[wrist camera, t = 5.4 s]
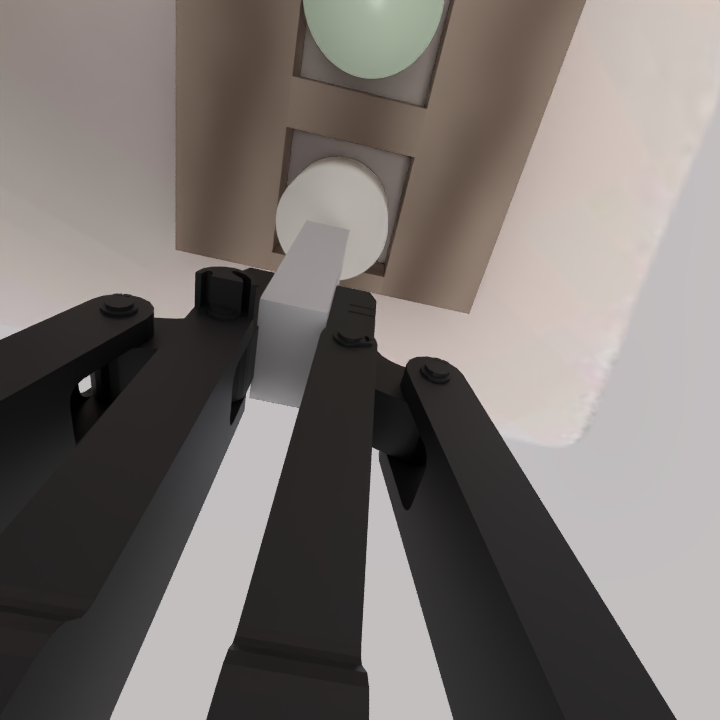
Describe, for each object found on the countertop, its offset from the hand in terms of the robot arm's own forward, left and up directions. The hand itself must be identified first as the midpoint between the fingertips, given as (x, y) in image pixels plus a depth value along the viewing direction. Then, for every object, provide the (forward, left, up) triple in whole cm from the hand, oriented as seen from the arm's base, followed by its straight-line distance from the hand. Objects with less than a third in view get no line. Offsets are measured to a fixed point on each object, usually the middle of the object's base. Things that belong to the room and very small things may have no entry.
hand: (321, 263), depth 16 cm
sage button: (0, +8, -7) cm, 11 cm away
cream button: (0, 0, -7) cm, 7 cm away
